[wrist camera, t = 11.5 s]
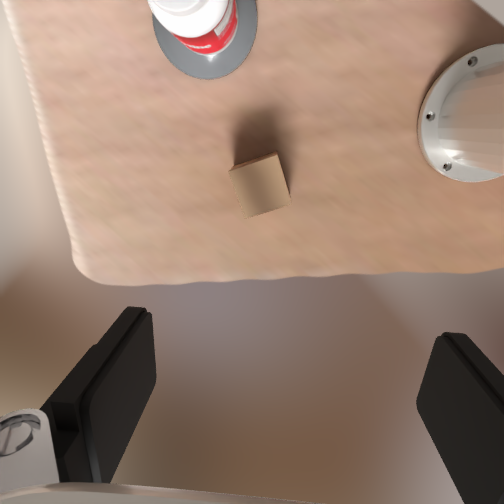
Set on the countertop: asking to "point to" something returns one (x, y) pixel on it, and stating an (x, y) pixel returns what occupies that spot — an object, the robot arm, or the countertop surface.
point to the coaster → (219, 62)
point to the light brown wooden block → (260, 185)
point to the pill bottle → (199, 22)
